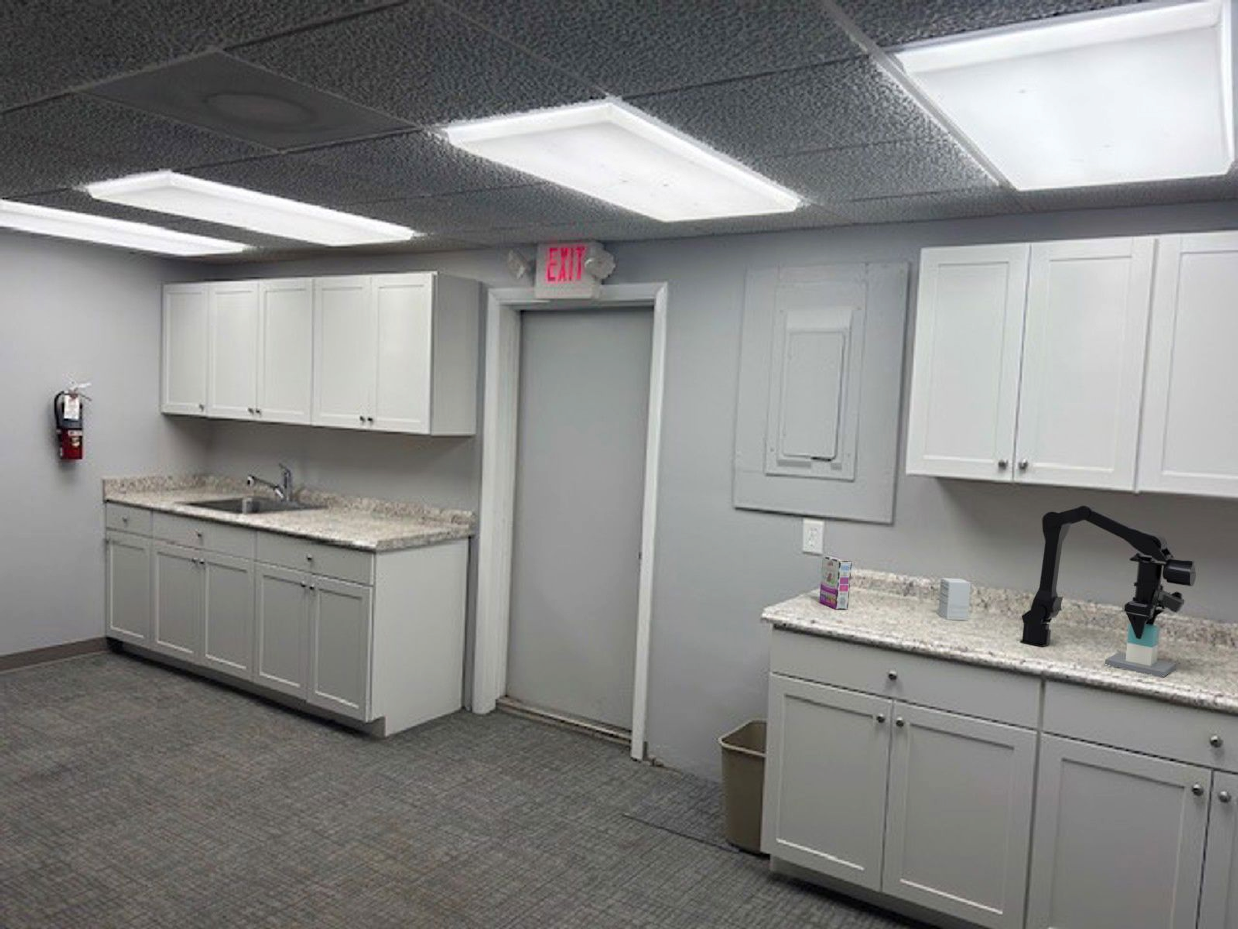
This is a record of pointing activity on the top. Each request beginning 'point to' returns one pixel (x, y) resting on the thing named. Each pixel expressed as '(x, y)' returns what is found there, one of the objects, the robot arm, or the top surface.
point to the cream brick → (1141, 654)
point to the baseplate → (1141, 665)
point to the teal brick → (1145, 636)
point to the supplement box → (954, 599)
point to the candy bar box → (835, 582)
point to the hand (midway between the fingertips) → (1143, 636)
